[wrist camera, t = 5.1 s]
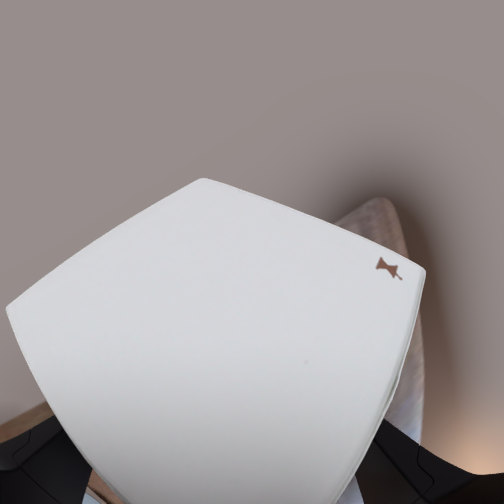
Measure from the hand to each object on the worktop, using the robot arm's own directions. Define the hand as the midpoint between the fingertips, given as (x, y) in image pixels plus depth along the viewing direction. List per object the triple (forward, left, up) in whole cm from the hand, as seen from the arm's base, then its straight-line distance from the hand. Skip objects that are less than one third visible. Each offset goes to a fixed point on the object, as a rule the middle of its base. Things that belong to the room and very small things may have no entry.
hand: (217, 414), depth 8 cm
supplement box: (-1, +1, -6) cm, 7 cm away
